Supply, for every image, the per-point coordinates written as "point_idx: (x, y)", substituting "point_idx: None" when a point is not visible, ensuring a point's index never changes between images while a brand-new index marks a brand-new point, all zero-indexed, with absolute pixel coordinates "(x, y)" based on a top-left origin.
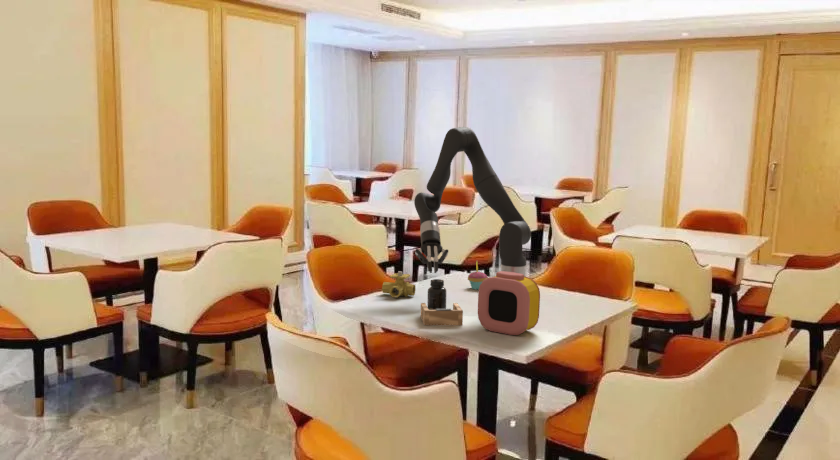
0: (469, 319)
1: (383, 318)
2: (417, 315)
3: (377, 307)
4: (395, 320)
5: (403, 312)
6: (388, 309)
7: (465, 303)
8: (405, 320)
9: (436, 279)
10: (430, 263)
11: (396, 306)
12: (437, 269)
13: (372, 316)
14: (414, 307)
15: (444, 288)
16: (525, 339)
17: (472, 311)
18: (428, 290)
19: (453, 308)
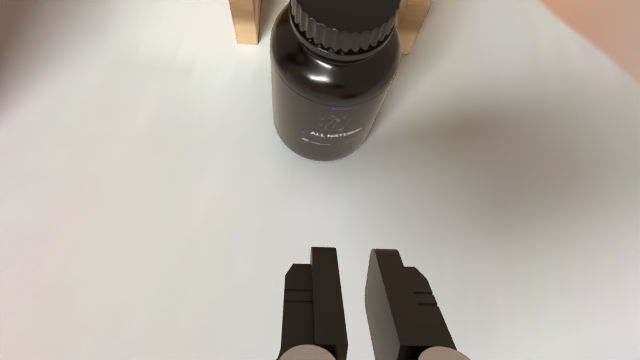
0: (190, 2)
1: (568, 43)
2: (421, 80)
3: (631, 248)
4: (515, 12)
5: (487, 137)
6: (567, 201)
7: (83, 349)
8: (474, 9)
9: (349, 20)
10: (413, 323)
11: (531, 270)
12: (300, 264)
13: (620, 77)
14: (430, 242)
15: (287, 11)
16: None
17: (118, 140)
18: (398, 34)
19: (254, 1)
